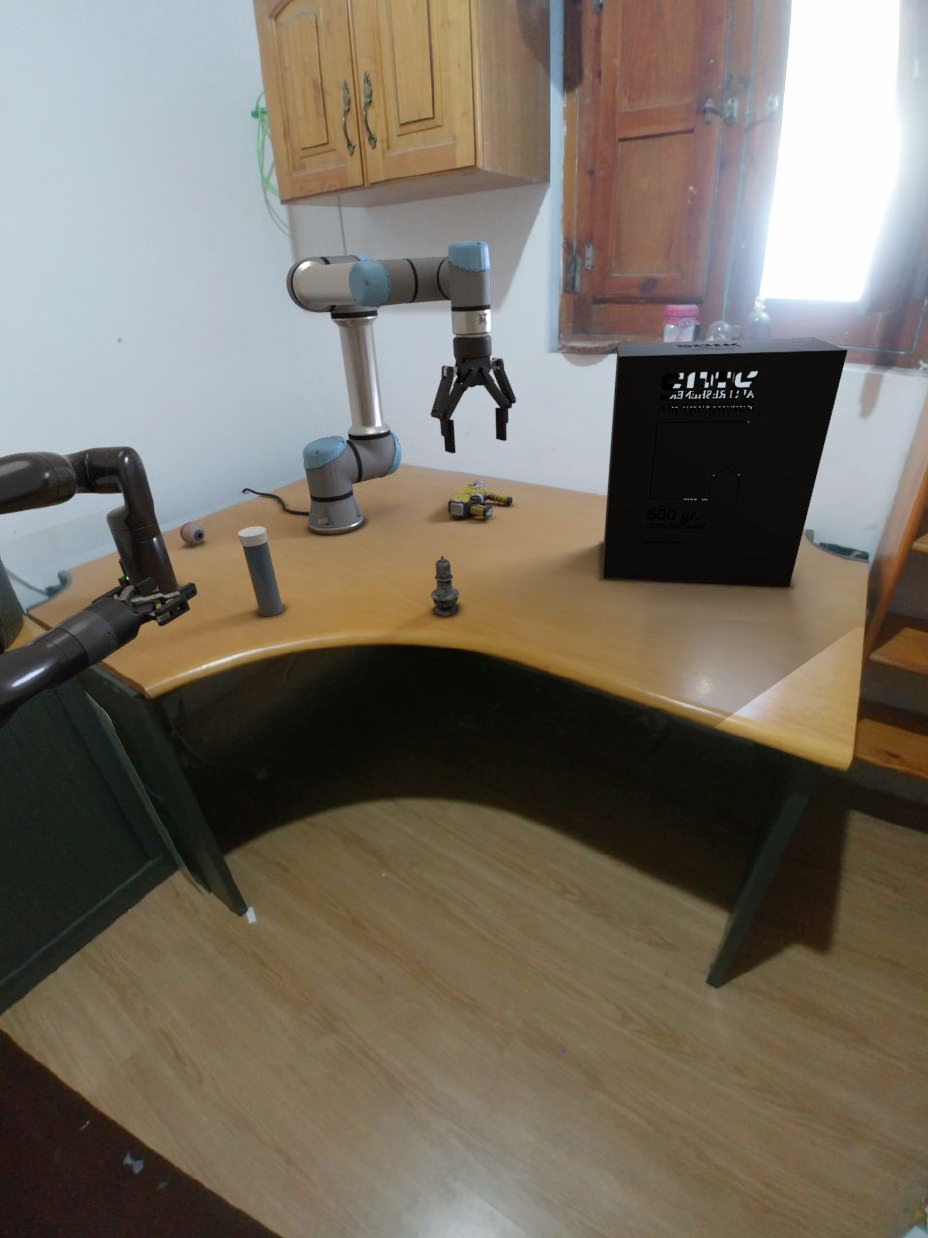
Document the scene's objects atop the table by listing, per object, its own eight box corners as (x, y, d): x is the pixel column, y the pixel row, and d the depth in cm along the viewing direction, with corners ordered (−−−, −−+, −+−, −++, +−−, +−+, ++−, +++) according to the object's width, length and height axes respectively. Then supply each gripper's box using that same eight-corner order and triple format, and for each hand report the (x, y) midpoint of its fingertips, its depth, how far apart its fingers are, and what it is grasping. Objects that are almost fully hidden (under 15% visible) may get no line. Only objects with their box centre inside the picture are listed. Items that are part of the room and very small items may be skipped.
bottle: (268, 604, 130) (249, 528, 121) (287, 606, 129) (269, 529, 120) (254, 614, 126) (234, 537, 117) (274, 617, 125) (255, 539, 116)
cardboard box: (767, 547, 142) (813, 337, 119) (789, 586, 125) (847, 349, 102) (603, 542, 149) (617, 343, 127) (603, 578, 132) (618, 356, 110)
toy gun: (520, 484, 182) (474, 477, 186) (498, 508, 162) (446, 499, 166) (519, 500, 184) (473, 492, 188) (497, 524, 164) (445, 516, 168)
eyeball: (193, 549, 159) (187, 528, 156) (179, 545, 162) (172, 524, 159) (212, 541, 163) (206, 520, 160) (198, 538, 166) (191, 517, 163)
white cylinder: (251, 535, 123) (249, 525, 121) (273, 537, 121) (271, 527, 120) (234, 545, 118) (232, 535, 117) (257, 547, 117) (255, 537, 116)
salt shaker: (457, 617, 121) (453, 562, 115) (428, 615, 122) (423, 561, 116) (463, 603, 126) (459, 550, 120) (435, 601, 127) (431, 549, 121)
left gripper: (123, 616, 84) (202, 568, 97) (48, 605, 88) (133, 560, 102) (140, 661, 88) (214, 609, 101) (68, 648, 92) (147, 600, 105)
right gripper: (429, 342, 108) (437, 460, 118) (533, 329, 120) (532, 437, 131) (407, 340, 113) (417, 454, 124) (508, 328, 125) (510, 432, 136)
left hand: (173, 584), depth 101 cm, fingers open, 8 cm apart
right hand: (476, 445), depth 127 cm, fingers open, 13 cm apart
